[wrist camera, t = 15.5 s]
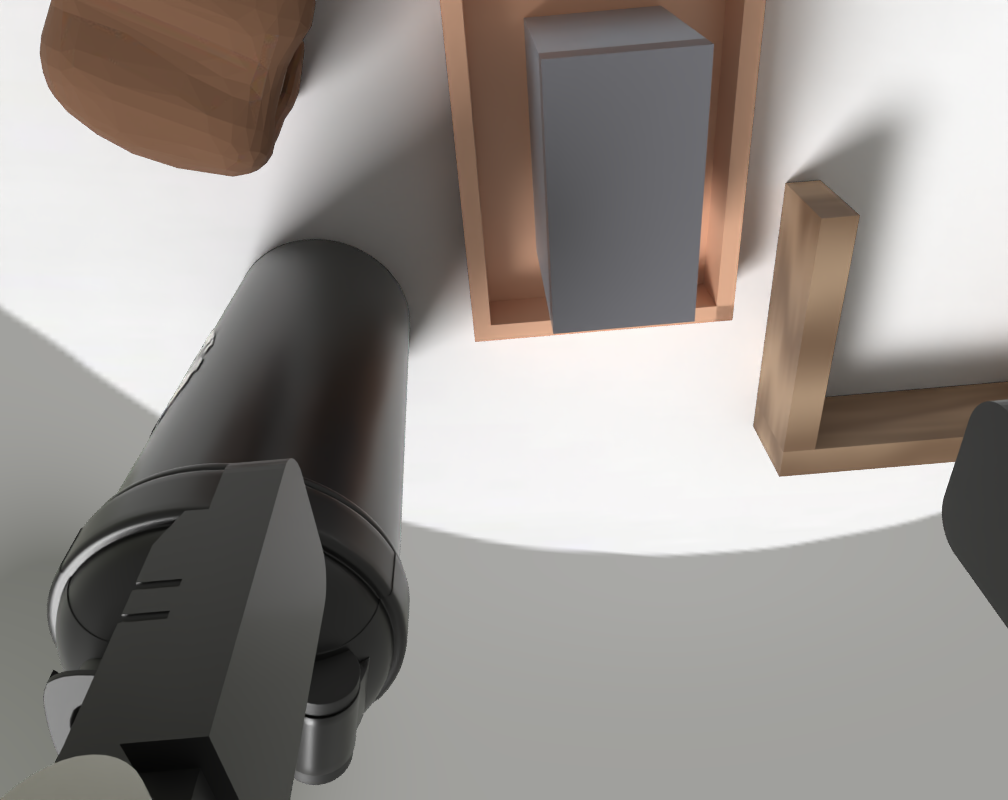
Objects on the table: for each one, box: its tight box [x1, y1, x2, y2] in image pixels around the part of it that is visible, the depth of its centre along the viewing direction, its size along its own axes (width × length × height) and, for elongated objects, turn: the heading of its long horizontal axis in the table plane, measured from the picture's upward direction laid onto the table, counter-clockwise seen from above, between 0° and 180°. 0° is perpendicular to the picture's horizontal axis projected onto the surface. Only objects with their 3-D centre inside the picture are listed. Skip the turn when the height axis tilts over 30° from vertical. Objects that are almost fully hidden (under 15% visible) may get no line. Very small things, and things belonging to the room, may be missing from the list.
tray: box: [440, 0, 766, 342], centre depth 34 cm, size 17×12×3 cm
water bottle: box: [43, 239, 410, 785], centre depth 30 cm, size 10×10×23 cm
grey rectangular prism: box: [524, 6, 714, 334], centre depth 31 cm, size 10×6×8 cm, turn 4°
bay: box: [753, 180, 1008, 477], centre depth 39 cm, size 14×17×4 cm
